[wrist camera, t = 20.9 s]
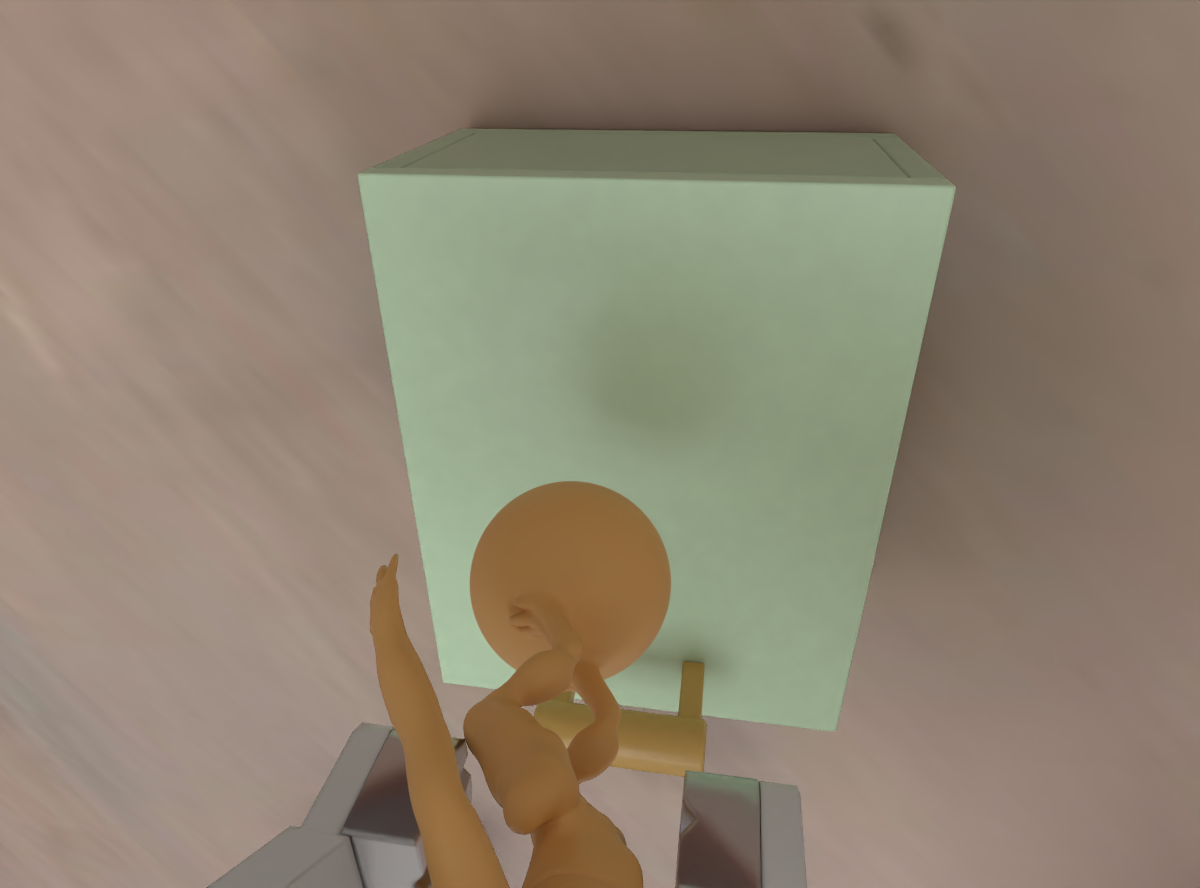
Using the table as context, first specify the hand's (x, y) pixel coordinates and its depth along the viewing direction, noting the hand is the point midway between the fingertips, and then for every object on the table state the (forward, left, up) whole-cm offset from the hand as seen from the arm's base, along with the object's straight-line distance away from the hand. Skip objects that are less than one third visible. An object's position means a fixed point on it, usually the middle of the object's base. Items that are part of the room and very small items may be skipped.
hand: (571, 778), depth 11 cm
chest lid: (+1, +3, -12) cm, 12 cm away
